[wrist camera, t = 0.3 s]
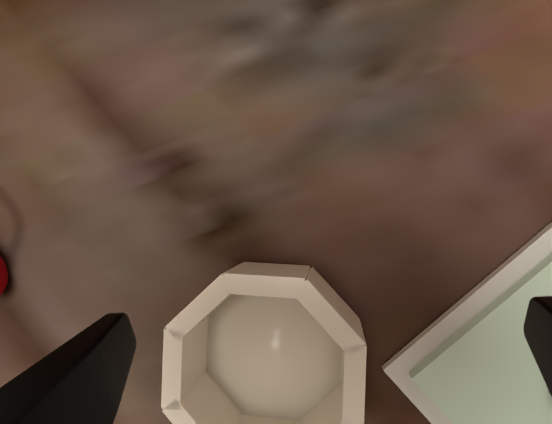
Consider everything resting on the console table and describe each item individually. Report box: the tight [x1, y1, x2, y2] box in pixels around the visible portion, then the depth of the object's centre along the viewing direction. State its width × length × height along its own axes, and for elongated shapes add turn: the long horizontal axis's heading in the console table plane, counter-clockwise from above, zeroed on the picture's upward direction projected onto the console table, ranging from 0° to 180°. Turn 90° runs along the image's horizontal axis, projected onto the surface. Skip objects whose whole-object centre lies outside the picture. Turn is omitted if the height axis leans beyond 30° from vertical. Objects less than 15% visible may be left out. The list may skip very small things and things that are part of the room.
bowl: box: [161, 262, 367, 424], centre depth 21 cm, size 10×10×5 cm
